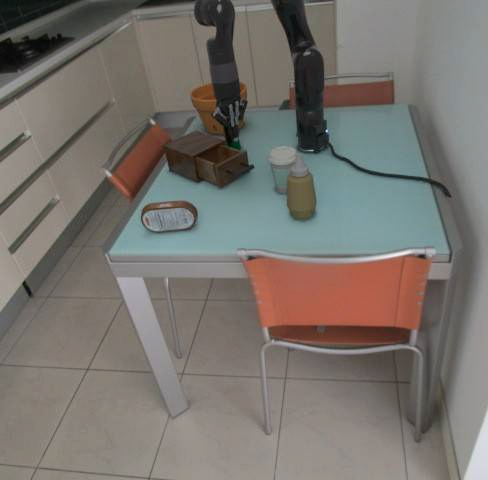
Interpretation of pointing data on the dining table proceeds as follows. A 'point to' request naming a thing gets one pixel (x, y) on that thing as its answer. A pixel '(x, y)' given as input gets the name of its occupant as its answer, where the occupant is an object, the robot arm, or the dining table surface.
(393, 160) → the dining table surface
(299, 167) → the squeeze bottle
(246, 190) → the dining table surface
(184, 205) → the tin
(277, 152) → the coffee cup
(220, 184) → the drawer
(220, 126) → the flower pot
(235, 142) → the soda can
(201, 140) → the cabinet
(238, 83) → the robot arm
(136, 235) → the dining table surface
